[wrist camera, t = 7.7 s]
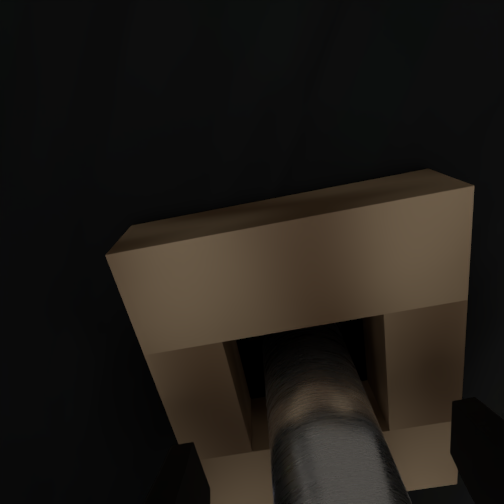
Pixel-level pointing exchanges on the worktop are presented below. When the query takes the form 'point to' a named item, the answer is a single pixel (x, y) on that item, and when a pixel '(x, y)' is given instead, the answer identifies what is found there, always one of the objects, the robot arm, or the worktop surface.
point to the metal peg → (323, 424)
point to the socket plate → (306, 314)
